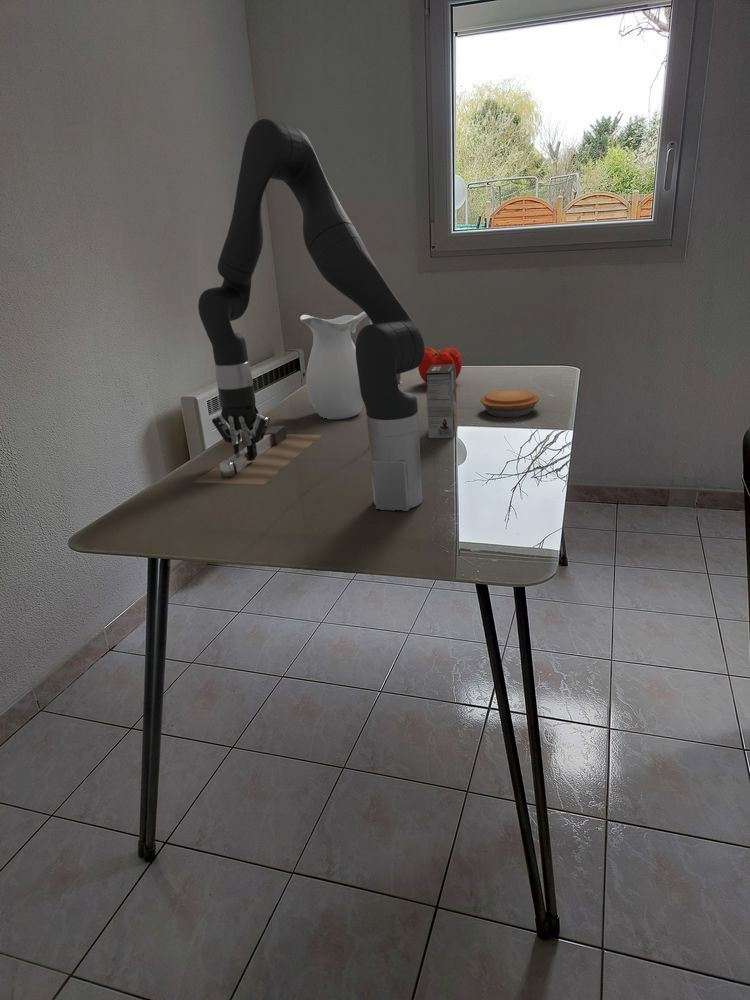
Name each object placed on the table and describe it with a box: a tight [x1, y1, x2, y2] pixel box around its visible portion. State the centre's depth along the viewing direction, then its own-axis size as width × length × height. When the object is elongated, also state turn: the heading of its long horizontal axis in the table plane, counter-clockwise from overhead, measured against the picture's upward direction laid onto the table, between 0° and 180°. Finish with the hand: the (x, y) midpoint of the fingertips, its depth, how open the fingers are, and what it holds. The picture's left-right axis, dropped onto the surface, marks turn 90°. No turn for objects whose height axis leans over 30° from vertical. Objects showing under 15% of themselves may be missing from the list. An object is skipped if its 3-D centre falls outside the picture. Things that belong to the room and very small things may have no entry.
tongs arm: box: [231, 425, 287, 473], centre depth 154 cm, size 25×2×3 cm, turn 164°
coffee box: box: [425, 364, 459, 439], centre depth 162 cm, size 9×6×16 cm
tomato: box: [417, 347, 463, 384], centre depth 211 cm, size 13×14×12 cm
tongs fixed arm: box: [219, 425, 279, 479], centre depth 153 cm, size 28×3×3 cm, turn 163°
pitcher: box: [299, 311, 369, 420], centre depth 184 cm, size 24×17×28 cm
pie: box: [479, 389, 540, 418], centre depth 177 cm, size 15×16×5 cm
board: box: [194, 433, 323, 486], centre depth 153 cm, size 34×16×2 cm, turn 163°
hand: (247, 459), depth 150 cm, fingers closed
